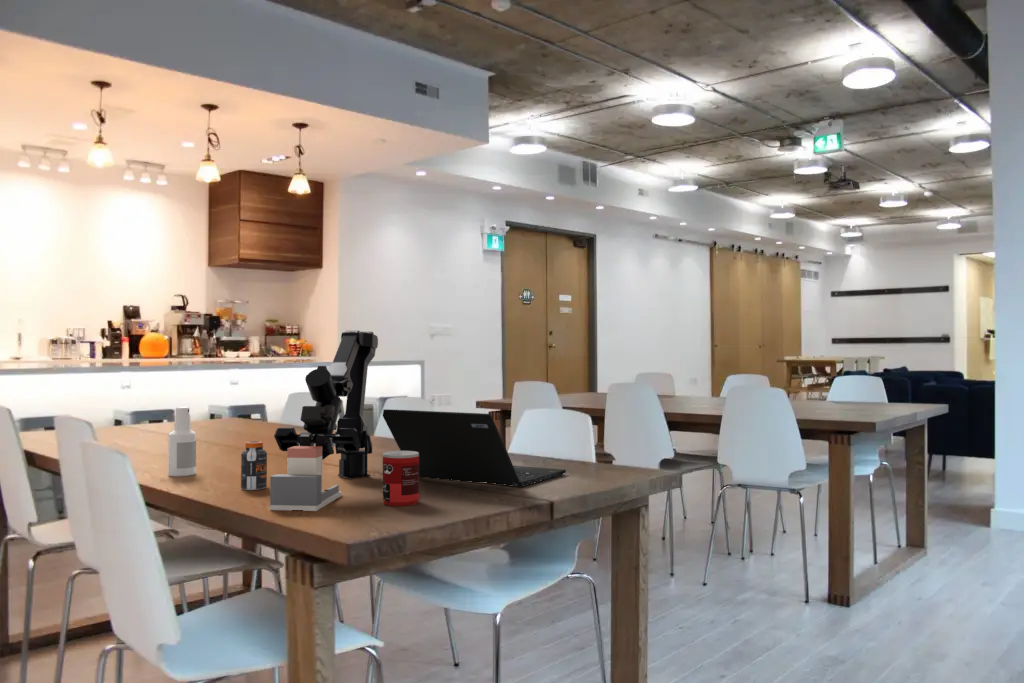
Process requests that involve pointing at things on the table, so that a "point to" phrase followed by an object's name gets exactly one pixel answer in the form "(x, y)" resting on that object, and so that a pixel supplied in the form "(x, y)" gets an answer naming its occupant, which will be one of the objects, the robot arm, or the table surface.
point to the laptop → (459, 447)
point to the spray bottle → (182, 446)
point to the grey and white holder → (300, 492)
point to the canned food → (400, 478)
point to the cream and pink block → (305, 460)
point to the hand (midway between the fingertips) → (308, 469)
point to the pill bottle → (254, 466)
